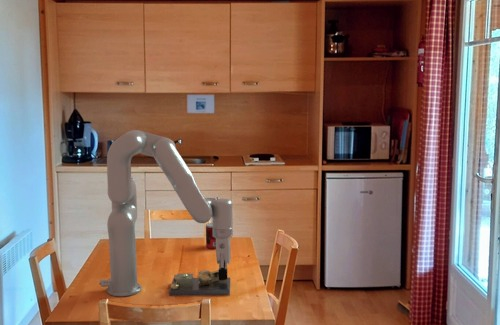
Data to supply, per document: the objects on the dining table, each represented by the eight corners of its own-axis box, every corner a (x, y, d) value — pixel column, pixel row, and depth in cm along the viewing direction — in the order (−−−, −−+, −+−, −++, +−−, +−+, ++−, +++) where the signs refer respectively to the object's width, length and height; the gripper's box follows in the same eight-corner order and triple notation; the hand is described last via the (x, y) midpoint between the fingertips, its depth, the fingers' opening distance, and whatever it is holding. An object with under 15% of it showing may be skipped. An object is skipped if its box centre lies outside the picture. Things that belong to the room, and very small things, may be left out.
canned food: (226, 246, 268) (225, 223, 267) (216, 250, 262) (215, 227, 260) (212, 243, 272) (212, 221, 271) (202, 248, 266) (202, 225, 264)
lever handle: (203, 286, 210) (203, 274, 209) (196, 282, 213) (195, 271, 213) (229, 278, 218) (229, 267, 217) (221, 275, 221) (221, 264, 221)
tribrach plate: (169, 295, 207) (168, 280, 206) (173, 283, 220) (173, 269, 219) (229, 294, 207) (229, 280, 206) (230, 282, 220) (230, 268, 219)
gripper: (231, 237, 205) (232, 286, 208) (233, 226, 220) (233, 272, 222) (211, 237, 205) (211, 286, 208) (214, 226, 220) (214, 272, 222)
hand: (223, 278), depth 215 cm, fingers closed
